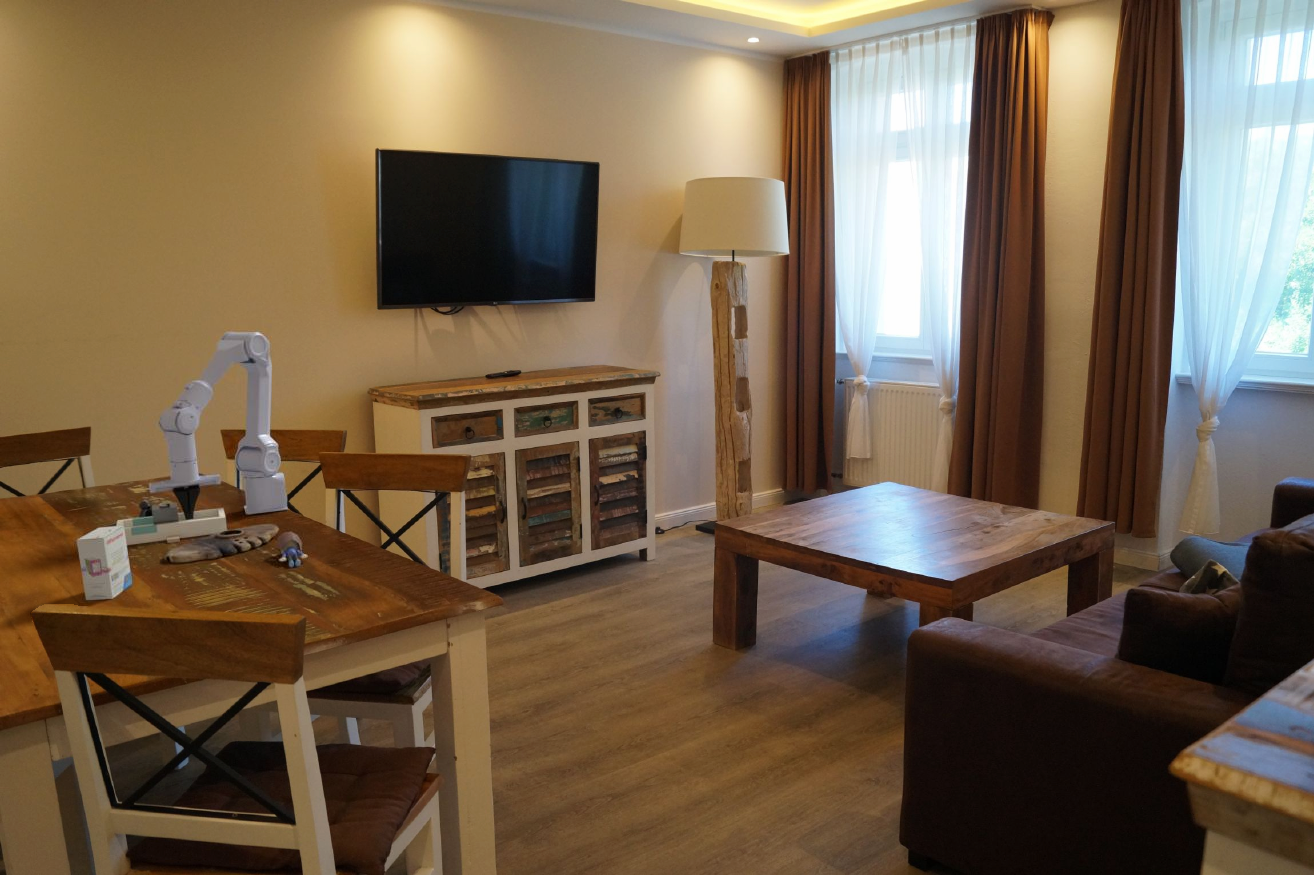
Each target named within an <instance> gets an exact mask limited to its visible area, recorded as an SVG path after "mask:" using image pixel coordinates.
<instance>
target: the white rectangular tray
mask: <svg viewBox="0 0 1314 875" xmlns="http://www.w3.org/2000/svg"><path fill="white" fill-rule="evenodd" d="M178 517H179V522H173V523H165V524H157V525H154V522H153V516H150V517H141V518H139V517H135V518H133V517H132V518H125V519H117V521H116V523H117V525H116V526H124V531H125V538H126V544H127V546H131V545H137V544H138V545H139V544H145V543H154V542H161V541H166V542H167V544H171V543H179V542H180V539H186V538H193V537H200V536H207V535H208V536H210V535H213V534H217V533H220V532H223V531H226V530H228V528H227V526H228V525H227V518H226V514H225V509H224V507H218V508H209V509H201V510H194V515H193V519H190V520H186V519H185V515H184V512H178Z"/></svg>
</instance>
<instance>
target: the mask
mask: <svg viewBox="0 0 1314 875" xmlns="http://www.w3.org/2000/svg"><path fill="white" fill-rule="evenodd" d="M279 531H280V528H279V527H278V525H276V524H275V523H274V524H272V523H265V524H255V525H251V526H245V527H239V528H235V529H227V530H226V531H223V532H220V533H217V534H209V535H208V536H207V537H206V536H205V537H199V538H196V539H194V540H193V541H189V542H185V543H183V544H181V545H180V546H176V547H174V548H171V549H169V550H168V551H167V552H165V554H164V561H166V562H171V563H174V564H175V563H177V564H178V563H182V564H183V563H191V562H195V561H196V562H197V561H201V560H215V559H219V558H222V557H230V556H234V555H235V554H237V553H239V552H240V553H241V552H242V553H243V552H244V553H245V552H247V551H249V550H250V549H252V548H253V549H254V548H258V547H260V546H261V545H262V544H266V543H268V542H269V541H270V540H271V539H273V538H274V537H275V536H276V535H277V533H278V532H279Z"/></svg>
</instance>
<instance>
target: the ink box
mask: <svg viewBox="0 0 1314 875" xmlns="http://www.w3.org/2000/svg"><path fill="white" fill-rule="evenodd" d="M76 544H77V545H76V546H77V551H78V558H79V562H80V564H79V565H80V569H81V576H82V582H83V590H84V596H85V601H97V600H112V599H113V600H114V598H116V597H117V596H119V595H120V594H121V593H122V592H123V591H125V590H126V589H128V588H129V587H130V586H132V585H133V580H132V572H131V567H130V560H129V553H128V545H127V544H126V538H125V531H124V526H112V527H111V526H103V527H97V528H96V529H94V530H92V531H90V532H89V533H86V534H85V535H83V536H81V537H80V538H78V539H76Z"/></svg>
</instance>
